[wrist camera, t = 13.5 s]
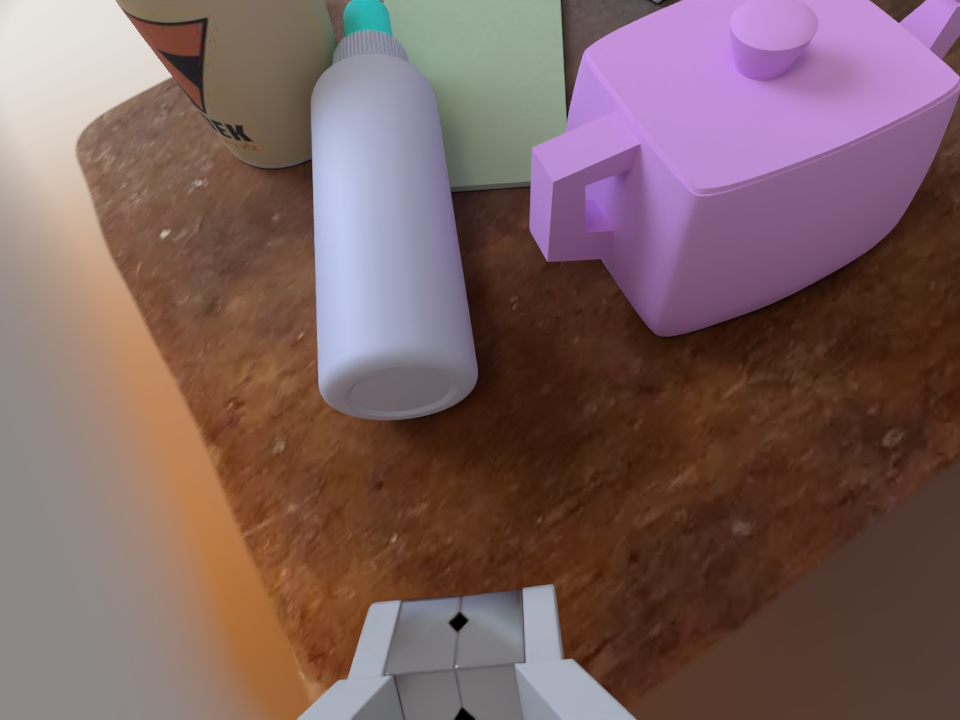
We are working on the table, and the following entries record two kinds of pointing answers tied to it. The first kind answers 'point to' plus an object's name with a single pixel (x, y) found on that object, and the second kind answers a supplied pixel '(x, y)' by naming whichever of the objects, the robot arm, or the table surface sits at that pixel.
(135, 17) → the coffee cup
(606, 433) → the table surface
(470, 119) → the mat
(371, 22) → the spray bottle
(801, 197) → the teapot
